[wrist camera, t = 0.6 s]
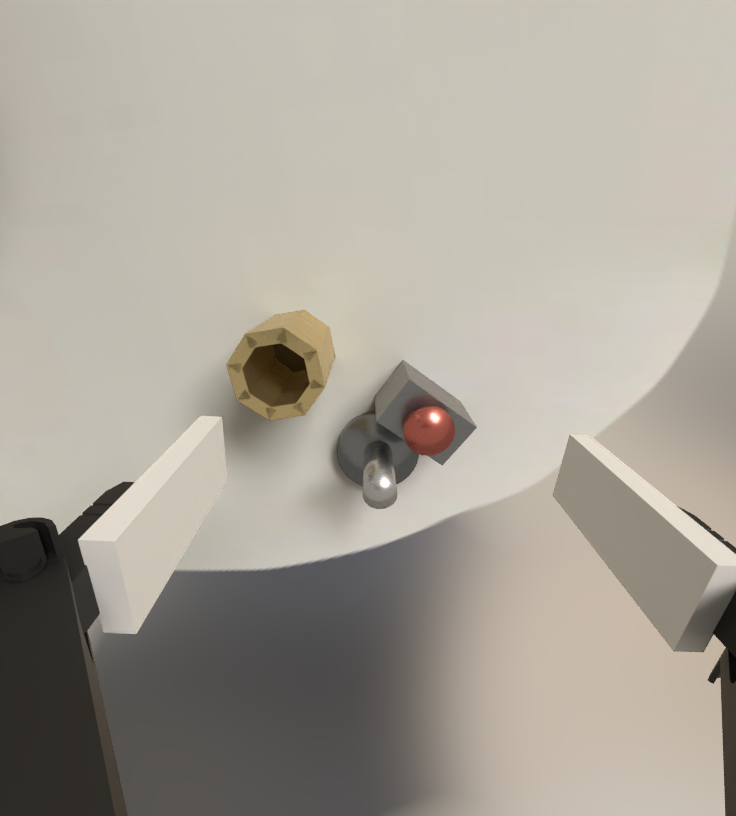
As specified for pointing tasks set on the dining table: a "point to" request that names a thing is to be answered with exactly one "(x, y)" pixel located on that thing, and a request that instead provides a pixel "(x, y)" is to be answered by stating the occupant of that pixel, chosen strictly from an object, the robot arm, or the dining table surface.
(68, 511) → the dining table surface
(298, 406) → the tan octagonal tube
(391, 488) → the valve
